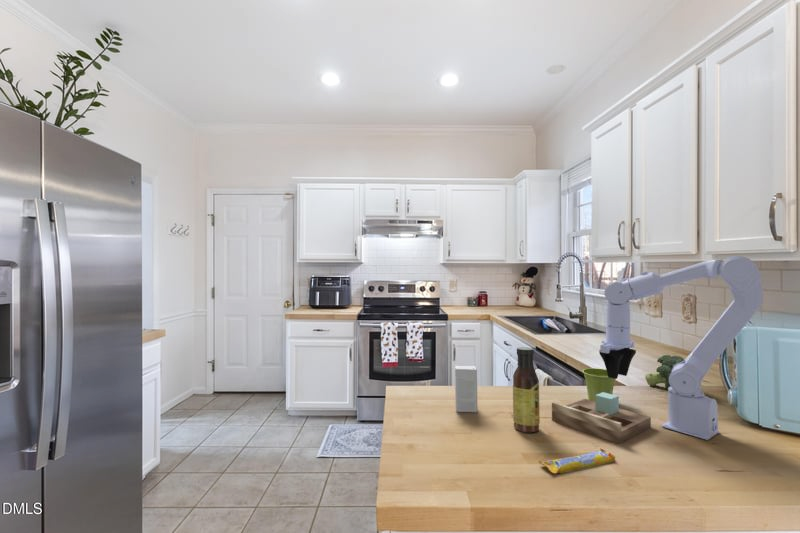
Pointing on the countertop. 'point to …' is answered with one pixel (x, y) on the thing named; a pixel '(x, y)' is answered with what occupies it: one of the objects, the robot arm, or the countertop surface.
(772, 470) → the countertop surface
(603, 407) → the block
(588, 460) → the candy bar
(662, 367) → the vegetable
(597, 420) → the tray
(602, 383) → the plant pot
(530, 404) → the sauce bottle
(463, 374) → the skincare box
